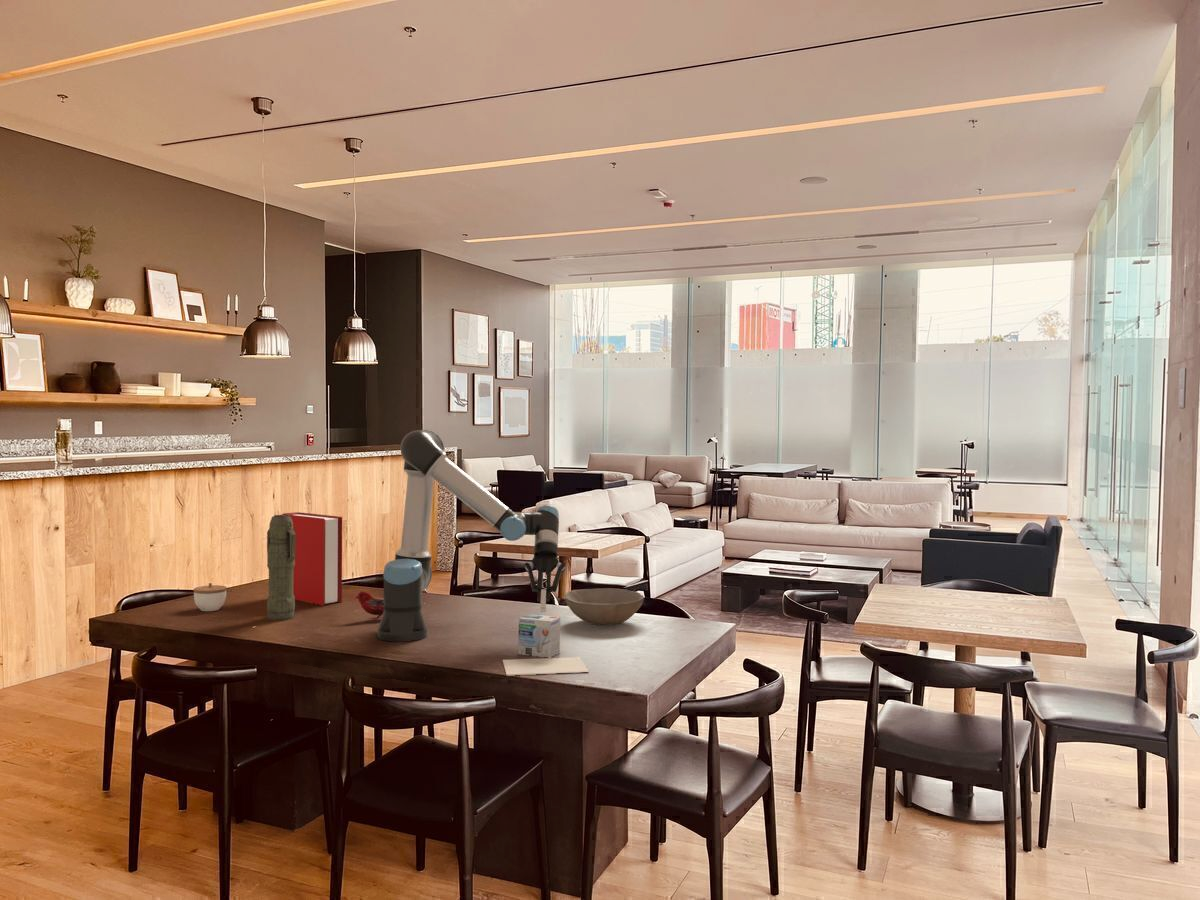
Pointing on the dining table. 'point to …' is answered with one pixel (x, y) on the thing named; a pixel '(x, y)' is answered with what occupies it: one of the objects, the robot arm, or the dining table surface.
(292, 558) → the stone statue
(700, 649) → the dining table surface
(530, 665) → the mat
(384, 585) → the robot arm
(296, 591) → the book
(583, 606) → the bowl
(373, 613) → the decorative bird figurine
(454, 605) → the dining table surface
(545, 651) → the light bulb box
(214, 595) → the lidded jar
